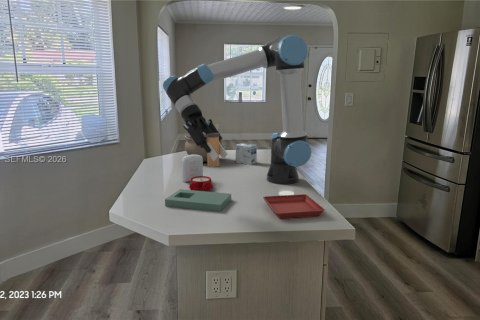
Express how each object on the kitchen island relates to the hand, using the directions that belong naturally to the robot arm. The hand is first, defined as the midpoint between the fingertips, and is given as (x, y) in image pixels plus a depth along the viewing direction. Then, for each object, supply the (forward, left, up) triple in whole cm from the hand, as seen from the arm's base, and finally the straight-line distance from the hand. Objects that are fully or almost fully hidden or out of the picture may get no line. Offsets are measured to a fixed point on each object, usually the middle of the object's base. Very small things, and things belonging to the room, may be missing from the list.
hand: (220, 157), depth 136 cm
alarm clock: (+16, -20, -19) cm, 32 cm away
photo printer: (+24, -32, -19) cm, 44 cm away
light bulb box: (+9, -76, -19) cm, 79 cm away
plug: (+3, -2, -3) cm, 5 cm away
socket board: (+9, -2, -19) cm, 21 cm away
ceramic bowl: (+34, -74, -19) cm, 83 cm away
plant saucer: (-27, -4, -20) cm, 33 cm away
